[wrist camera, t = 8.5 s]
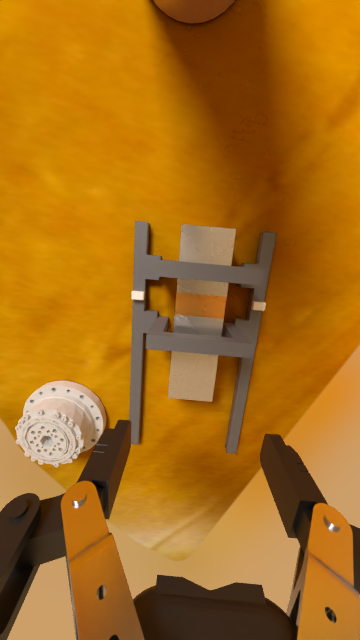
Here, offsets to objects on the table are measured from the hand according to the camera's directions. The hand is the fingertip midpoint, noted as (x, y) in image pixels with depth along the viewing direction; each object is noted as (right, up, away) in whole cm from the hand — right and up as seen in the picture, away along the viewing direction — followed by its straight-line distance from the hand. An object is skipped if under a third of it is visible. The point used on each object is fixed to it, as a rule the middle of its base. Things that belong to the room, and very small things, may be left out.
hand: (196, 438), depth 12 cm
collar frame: (0, +4, +11) cm, 12 cm away
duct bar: (+1, +8, +10) cm, 13 cm away
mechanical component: (-15, -5, +15) cm, 22 cm away
